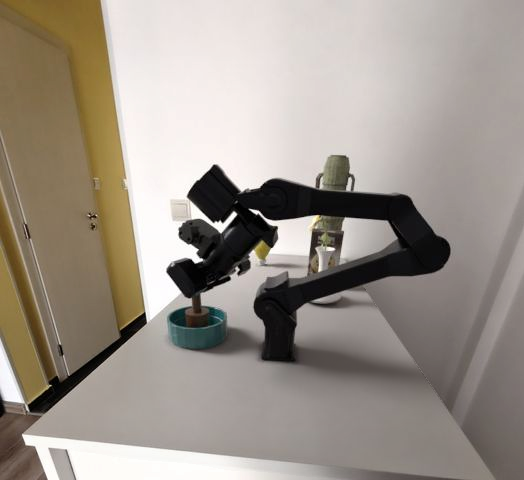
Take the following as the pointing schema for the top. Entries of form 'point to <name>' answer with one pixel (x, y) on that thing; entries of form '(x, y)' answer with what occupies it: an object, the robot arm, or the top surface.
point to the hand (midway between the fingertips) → (190, 293)
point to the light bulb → (262, 253)
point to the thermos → (335, 185)
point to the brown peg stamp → (197, 314)
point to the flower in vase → (324, 259)
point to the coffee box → (316, 241)
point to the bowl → (197, 329)
